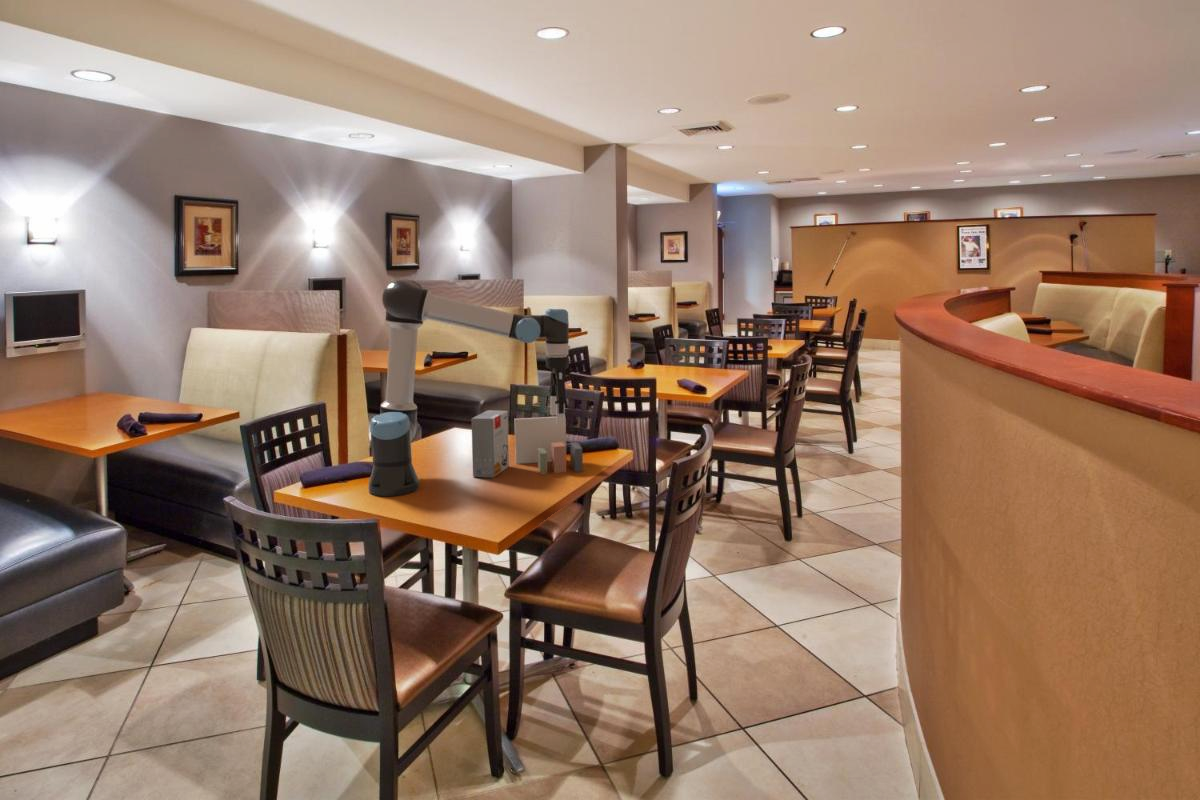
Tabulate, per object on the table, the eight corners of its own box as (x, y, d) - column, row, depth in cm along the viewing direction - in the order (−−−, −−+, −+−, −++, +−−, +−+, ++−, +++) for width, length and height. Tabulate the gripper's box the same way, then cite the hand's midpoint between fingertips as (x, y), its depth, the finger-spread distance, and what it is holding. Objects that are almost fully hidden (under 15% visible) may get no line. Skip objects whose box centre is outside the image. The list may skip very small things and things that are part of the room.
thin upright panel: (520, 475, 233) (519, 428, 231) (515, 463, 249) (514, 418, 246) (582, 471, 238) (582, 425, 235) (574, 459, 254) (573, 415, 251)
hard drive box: (494, 478, 230) (492, 419, 227) (472, 477, 232) (469, 418, 228) (509, 466, 245) (507, 410, 242) (489, 465, 247) (486, 409, 243)
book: (554, 472, 237) (553, 446, 235) (551, 468, 242) (551, 442, 241) (566, 472, 237) (565, 446, 236) (563, 467, 243) (562, 442, 242)
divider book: (541, 474, 235) (540, 453, 234) (538, 467, 243) (537, 448, 242) (547, 473, 236) (546, 453, 234) (544, 467, 243) (543, 447, 242)
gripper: (575, 360, 222) (575, 426, 226) (562, 351, 246) (562, 411, 250) (551, 360, 220) (551, 426, 224) (541, 352, 244) (541, 412, 248)
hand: (557, 418), depth 237 cm, fingers open, 13 cm apart
